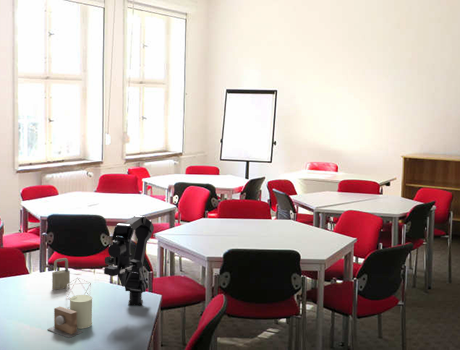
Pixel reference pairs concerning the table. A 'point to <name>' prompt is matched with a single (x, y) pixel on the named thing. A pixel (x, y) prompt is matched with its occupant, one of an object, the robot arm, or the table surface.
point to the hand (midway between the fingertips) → (123, 286)
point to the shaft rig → (65, 322)
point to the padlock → (60, 276)
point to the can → (82, 310)
